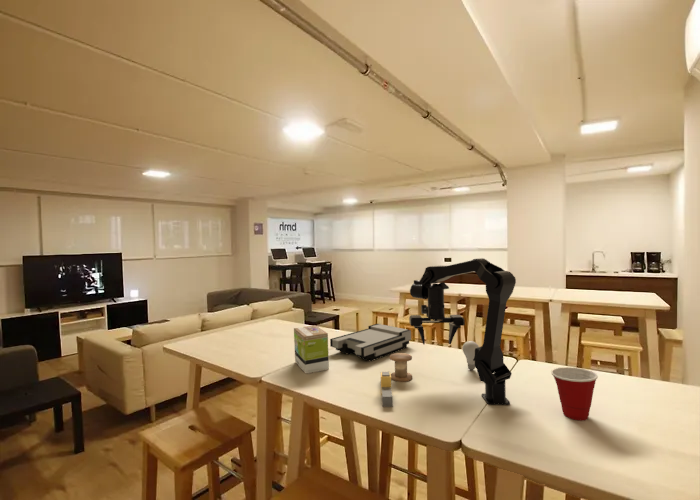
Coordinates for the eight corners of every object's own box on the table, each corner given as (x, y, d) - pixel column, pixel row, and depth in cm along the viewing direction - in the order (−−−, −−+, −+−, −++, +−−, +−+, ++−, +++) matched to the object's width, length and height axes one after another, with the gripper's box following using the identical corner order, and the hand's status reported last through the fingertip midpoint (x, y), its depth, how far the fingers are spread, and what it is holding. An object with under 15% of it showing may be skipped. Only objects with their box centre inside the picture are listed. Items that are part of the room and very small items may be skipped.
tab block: (391, 395, 109) (391, 375, 109) (381, 395, 109) (381, 375, 109) (390, 390, 113) (390, 371, 113) (381, 390, 113) (380, 371, 113)
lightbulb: (477, 367, 132) (477, 338, 132) (482, 373, 126) (481, 343, 126) (461, 367, 133) (460, 338, 132) (465, 373, 127) (464, 343, 126)
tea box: (294, 362, 143) (293, 327, 143) (316, 358, 147) (316, 324, 147) (305, 374, 129) (303, 335, 129) (329, 369, 133) (328, 332, 133)
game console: (330, 354, 153) (330, 336, 153) (377, 339, 175) (377, 323, 175) (364, 365, 138) (363, 345, 138) (411, 347, 160) (410, 330, 160)
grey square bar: (392, 406, 102) (392, 396, 102) (382, 406, 102) (382, 396, 102) (389, 381, 121) (389, 372, 121) (380, 381, 121) (380, 372, 121)
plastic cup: (554, 402, 102) (554, 362, 102) (599, 413, 95) (599, 370, 95) (548, 417, 93) (547, 373, 93) (596, 430, 87) (596, 383, 86)
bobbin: (413, 381, 120) (413, 360, 120) (390, 381, 120) (390, 360, 120) (411, 373, 128) (410, 352, 128) (389, 373, 128) (389, 353, 128)
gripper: (456, 297, 130) (457, 337, 130) (407, 297, 131) (408, 338, 132) (464, 301, 119) (465, 346, 119) (410, 302, 120) (411, 346, 120)
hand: (436, 344), depth 123 cm, fingers open, 9 cm apart
